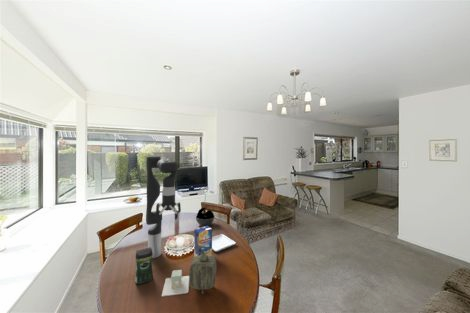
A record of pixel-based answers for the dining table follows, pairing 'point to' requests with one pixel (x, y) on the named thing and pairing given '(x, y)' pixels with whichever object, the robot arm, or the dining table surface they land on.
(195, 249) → the beverage box
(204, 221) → the coal bowl
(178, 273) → the cube with two prongs
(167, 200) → the robot arm
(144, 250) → the coffee jar
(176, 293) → the mat
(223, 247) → the salad plate
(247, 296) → the dining table surface
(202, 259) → the tabletop clock
